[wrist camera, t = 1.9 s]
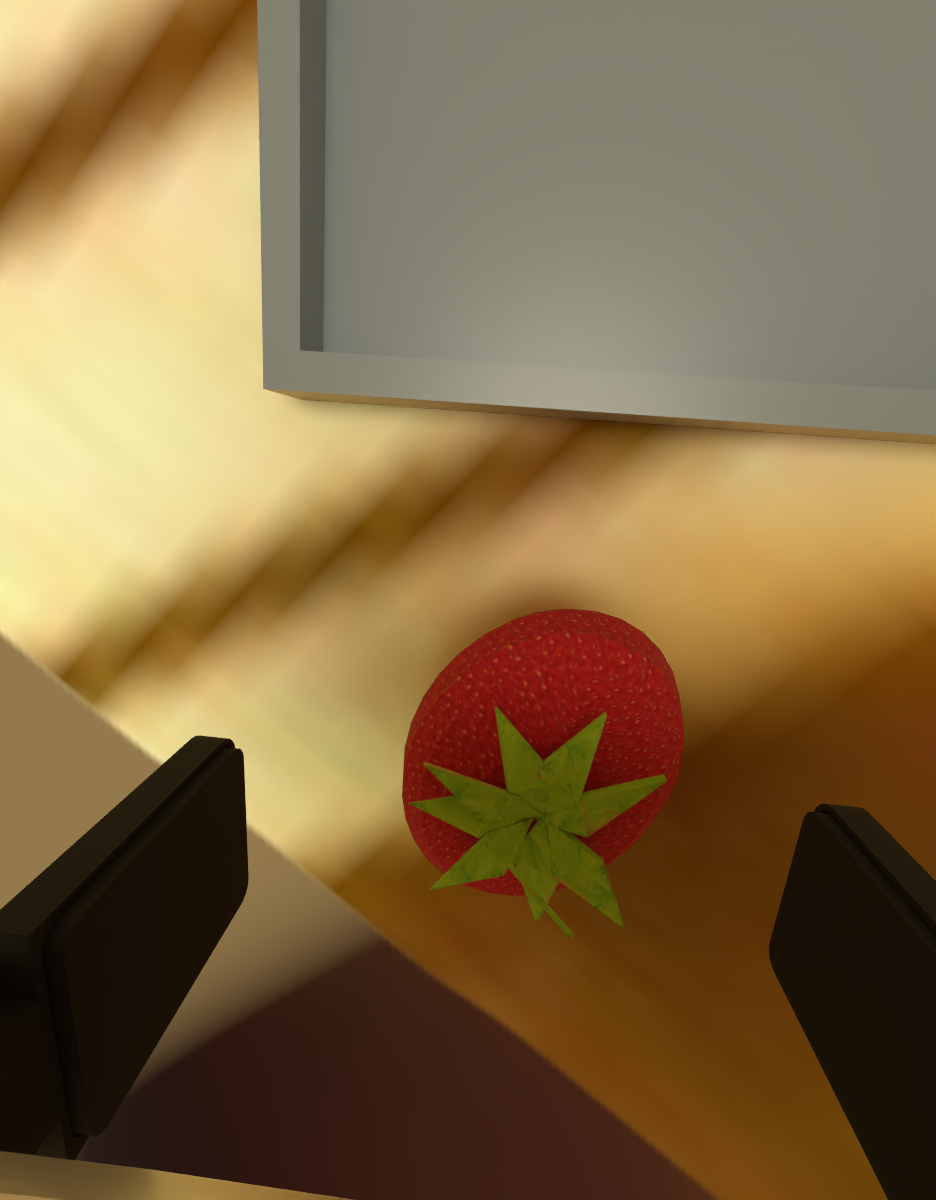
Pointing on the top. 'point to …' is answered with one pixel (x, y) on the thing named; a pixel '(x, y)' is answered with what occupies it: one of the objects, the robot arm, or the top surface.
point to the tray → (604, 209)
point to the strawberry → (543, 757)
